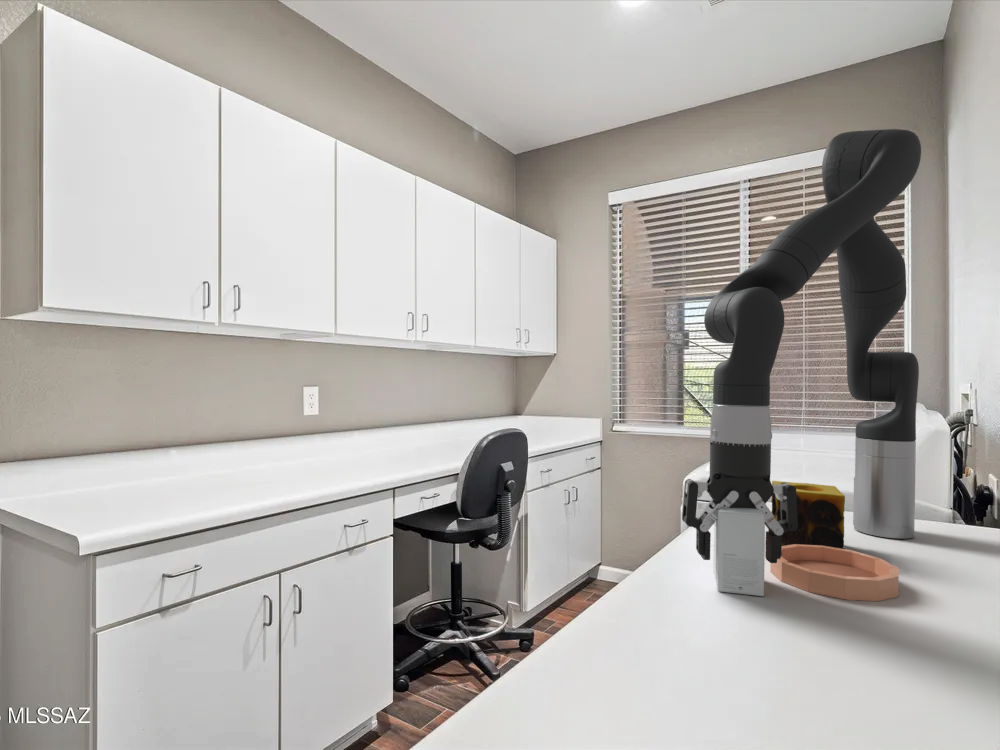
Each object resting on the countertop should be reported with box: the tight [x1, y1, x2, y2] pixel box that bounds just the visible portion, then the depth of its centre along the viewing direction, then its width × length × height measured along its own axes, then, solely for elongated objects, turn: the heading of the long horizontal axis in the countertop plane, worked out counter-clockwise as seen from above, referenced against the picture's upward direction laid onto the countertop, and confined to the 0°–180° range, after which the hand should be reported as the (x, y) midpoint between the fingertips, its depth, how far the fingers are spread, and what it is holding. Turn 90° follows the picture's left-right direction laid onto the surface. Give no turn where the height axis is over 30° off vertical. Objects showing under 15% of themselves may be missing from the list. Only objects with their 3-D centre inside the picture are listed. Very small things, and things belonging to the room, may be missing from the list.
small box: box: [712, 508, 766, 597], centre depth 76 cm, size 8×6×10 cm
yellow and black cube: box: [771, 480, 846, 549], centre depth 94 cm, size 10×10×10 cm
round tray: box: [769, 544, 900, 602], centre depth 78 cm, size 15×15×3 cm
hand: (737, 559), depth 76 cm, fingers open, 8 cm apart
